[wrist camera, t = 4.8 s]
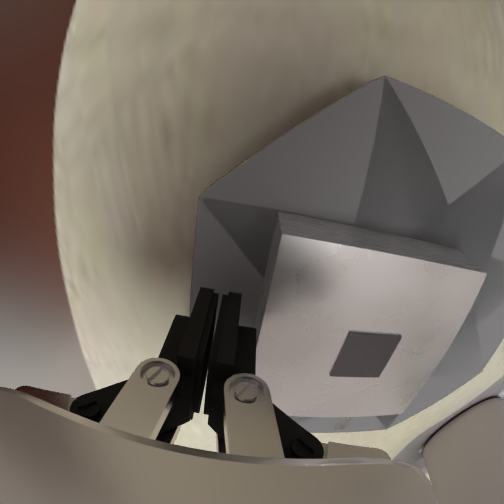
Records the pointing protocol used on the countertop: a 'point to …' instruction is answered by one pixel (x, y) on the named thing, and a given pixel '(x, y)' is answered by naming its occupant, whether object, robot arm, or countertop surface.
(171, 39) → the countertop surface
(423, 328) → the cover
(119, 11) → the countertop surface
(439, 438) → the cylinder vase
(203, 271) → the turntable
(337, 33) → the countertop surface
